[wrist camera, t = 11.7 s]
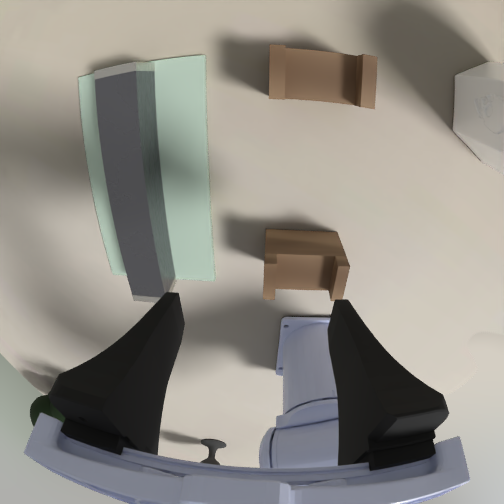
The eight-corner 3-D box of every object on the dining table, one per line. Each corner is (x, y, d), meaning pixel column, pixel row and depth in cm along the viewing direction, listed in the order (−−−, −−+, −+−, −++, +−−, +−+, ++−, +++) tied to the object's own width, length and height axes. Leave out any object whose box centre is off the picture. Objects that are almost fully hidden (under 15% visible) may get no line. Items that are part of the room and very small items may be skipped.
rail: (176, 280, 26) (167, 303, 23) (145, 278, 26) (133, 300, 23) (154, 63, 16) (136, 61, 13) (116, 70, 16) (93, 70, 14)
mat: (215, 278, 26) (214, 281, 25) (114, 272, 26) (112, 274, 26) (205, 55, 16) (204, 55, 16) (81, 77, 17) (78, 77, 16)
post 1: (352, 103, 17) (374, 109, 13) (269, 96, 17) (268, 98, 13) (354, 62, 16) (377, 56, 12) (269, 54, 16) (269, 44, 12)
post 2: (331, 263, 24) (341, 301, 20) (264, 261, 24) (262, 299, 20) (337, 232, 23) (350, 266, 19) (265, 229, 23) (264, 263, 19)
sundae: (213, 435, 45) (202, 508, 33) (237, 446, 48) (230, 514, 35) (189, 439, 48) (177, 506, 35) (213, 450, 50) (204, 512, 38)
